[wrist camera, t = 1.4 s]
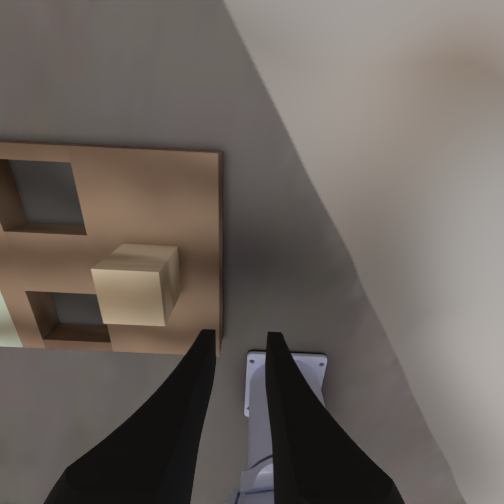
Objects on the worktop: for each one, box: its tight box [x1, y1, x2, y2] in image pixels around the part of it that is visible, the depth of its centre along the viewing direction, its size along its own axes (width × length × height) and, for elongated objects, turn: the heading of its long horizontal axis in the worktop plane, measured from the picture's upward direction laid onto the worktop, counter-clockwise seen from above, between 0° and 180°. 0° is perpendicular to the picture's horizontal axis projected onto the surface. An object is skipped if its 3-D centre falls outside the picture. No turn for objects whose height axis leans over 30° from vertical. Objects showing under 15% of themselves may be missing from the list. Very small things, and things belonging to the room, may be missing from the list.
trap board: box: [0, 140, 223, 356], centre depth 21 cm, size 17×23×2 cm
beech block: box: [91, 244, 181, 326], centre depth 18 cm, size 4×4×4 cm
